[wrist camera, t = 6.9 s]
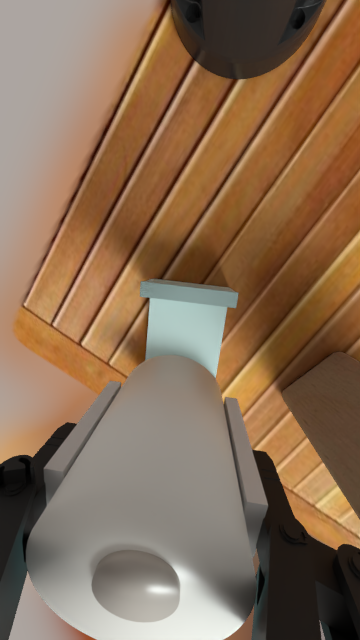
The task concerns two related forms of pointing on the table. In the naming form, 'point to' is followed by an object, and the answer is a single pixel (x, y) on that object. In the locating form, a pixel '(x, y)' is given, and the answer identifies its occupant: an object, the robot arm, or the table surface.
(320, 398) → the wooden block
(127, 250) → the table surface
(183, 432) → the roll
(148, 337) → the cradle
